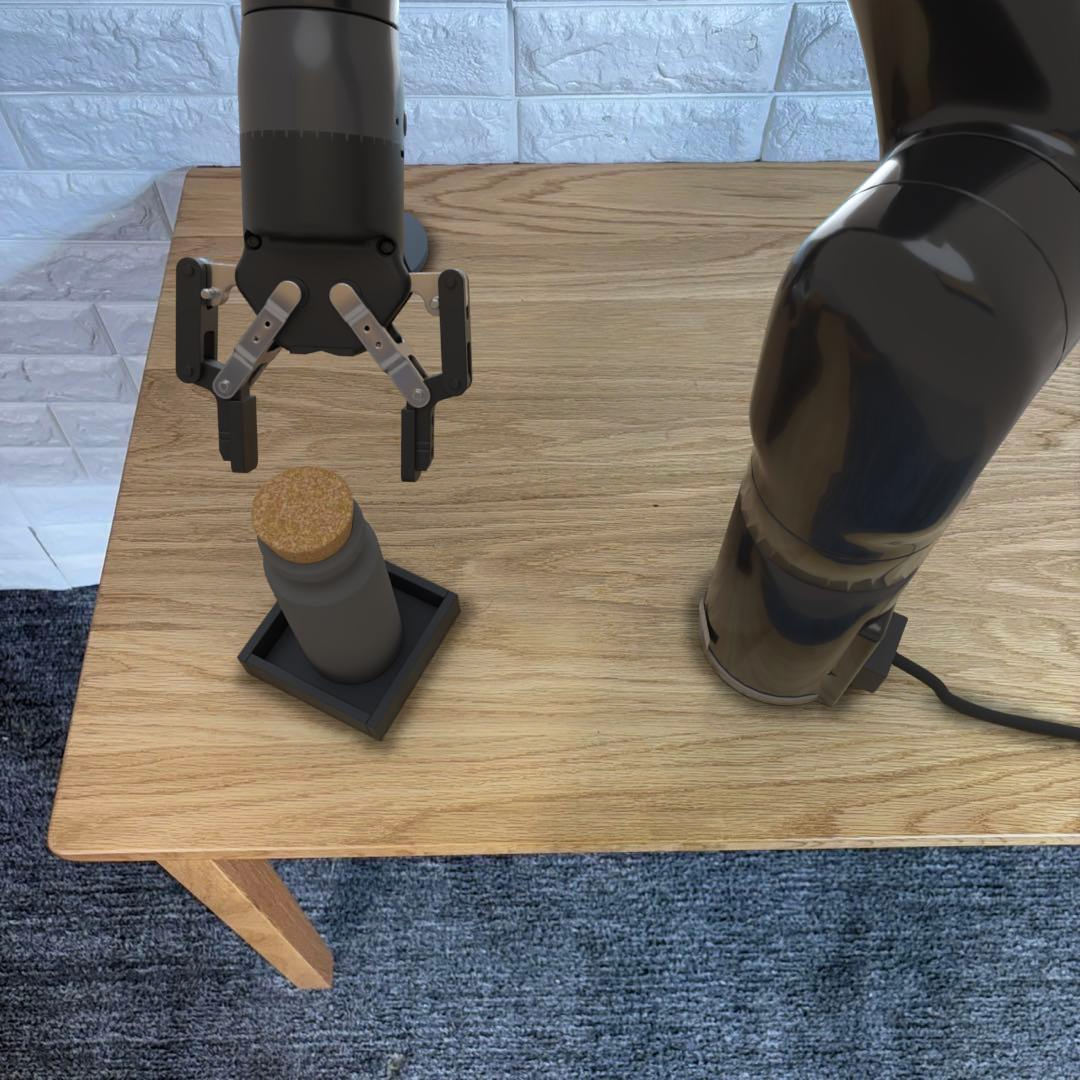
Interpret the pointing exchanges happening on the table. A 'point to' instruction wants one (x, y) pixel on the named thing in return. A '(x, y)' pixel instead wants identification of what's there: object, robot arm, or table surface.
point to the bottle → (327, 574)
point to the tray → (373, 701)
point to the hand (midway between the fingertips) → (328, 475)
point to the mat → (414, 243)
